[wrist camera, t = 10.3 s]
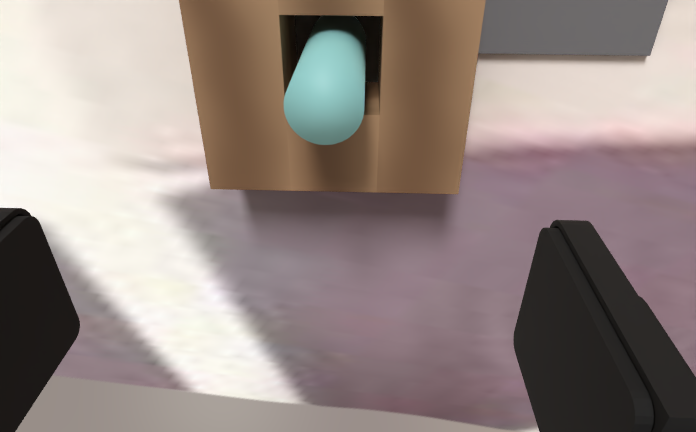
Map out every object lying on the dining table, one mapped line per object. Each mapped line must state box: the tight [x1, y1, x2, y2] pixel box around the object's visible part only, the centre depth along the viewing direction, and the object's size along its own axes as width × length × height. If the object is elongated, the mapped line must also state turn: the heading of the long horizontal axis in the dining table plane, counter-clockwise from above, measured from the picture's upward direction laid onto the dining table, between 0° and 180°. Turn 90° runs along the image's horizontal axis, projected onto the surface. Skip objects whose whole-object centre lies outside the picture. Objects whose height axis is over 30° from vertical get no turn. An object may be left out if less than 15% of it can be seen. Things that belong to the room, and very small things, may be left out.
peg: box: [284, 15, 366, 145], centre depth 23 cm, size 3×3×10 cm
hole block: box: [179, 0, 486, 194], centre depth 25 cm, size 13×13×5 cm
